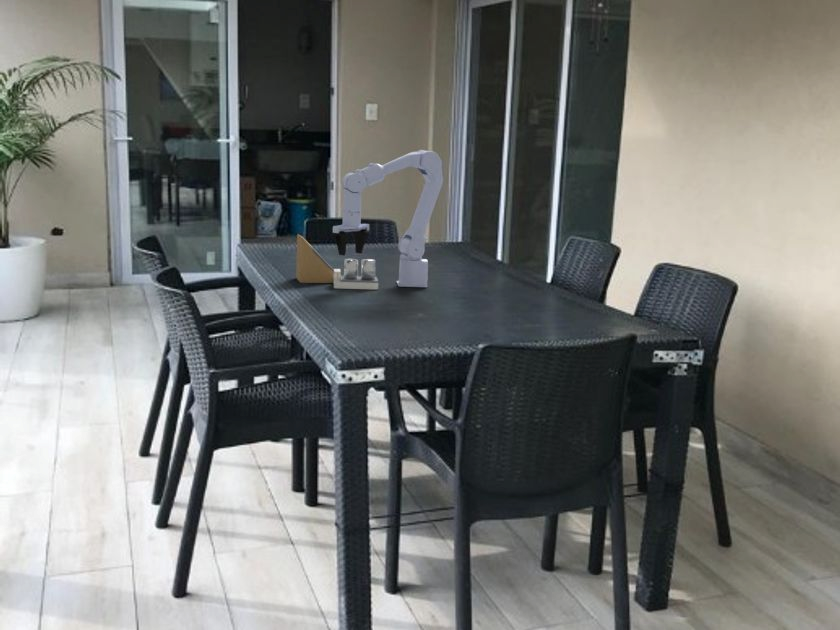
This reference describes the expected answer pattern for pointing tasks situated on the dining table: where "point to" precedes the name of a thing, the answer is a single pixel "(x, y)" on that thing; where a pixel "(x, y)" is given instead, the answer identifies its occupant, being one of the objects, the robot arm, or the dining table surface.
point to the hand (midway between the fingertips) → (350, 254)
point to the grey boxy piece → (353, 282)
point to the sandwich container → (311, 264)
